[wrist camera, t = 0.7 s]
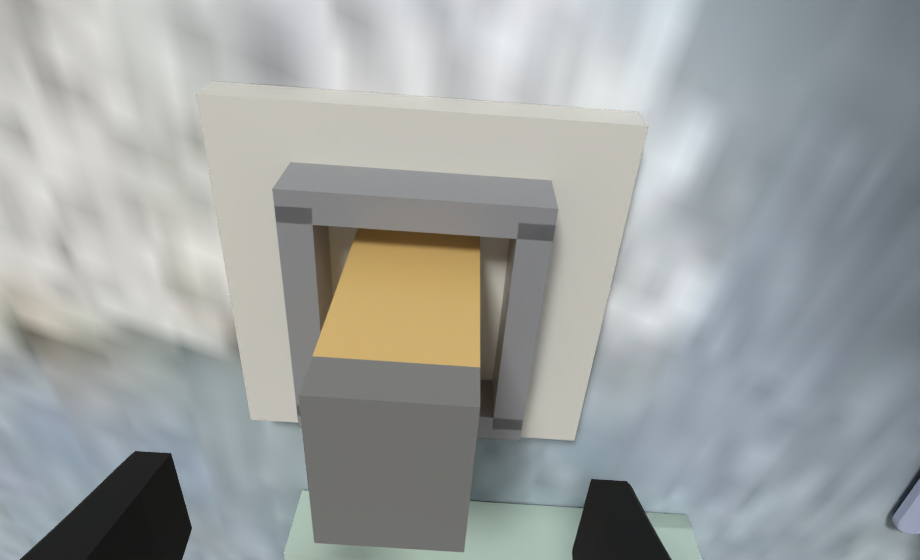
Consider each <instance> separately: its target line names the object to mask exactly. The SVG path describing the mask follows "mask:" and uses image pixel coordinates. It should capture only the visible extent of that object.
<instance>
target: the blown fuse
mask: <svg viewBox="0 0 920 560" xmlns="http://www.w3.org/2000/svg"><path fill="white" fill-rule="evenodd" d="M299 404H300V414H301V423H302V433H303V442H304V451H305V461H306V470H307V480H308V489H309V498H310V508H311V517H312V527H313V536H314V543H322V544H338V545H354V546H370V547H386V548H402V549H418V550H434V551H450V552H464V548H465V539H466V530H467V521H468V513H469V504H470V495H471V486H472V477H473V468H474V459H475V450H476V441H477V432H478V423H479V414H480V236H467V235H453V234H438V233H424V232H409V231H395V230H380V229H366V228H358V229H357V232H356V235H355V238H354V241H353V243H352V246H351V249H350V252H349V255H348V257H347V260H346V263H345V266H344V269H343V272H342V274H341V277H340V280H339V283H338V286H337V288H336V291H335V294H334V297H333V300H332V303H331V305H330V308H329V311H328V314H327V317H326V319H325V322H324V325H323V328H322V331H321V334H320V336H319V339H318V342H317V345H316V348H315V350H314V353H313V356H312V359H311V362H310V365H309V367H308V370H307V373H306V376H305V379H304V381H303V384H302V387H301V390H300V393H299Z"/></svg>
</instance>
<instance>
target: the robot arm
mask: <svg viewBox="0 0 920 560" xmlns="http://www.w3.org/2000/svg"><path fill="white" fill-rule="evenodd" d="M892 520H893V523H894V524H895V526H896V527H897V529H898V530H899V531H901V532H904V533H913V534H920V479H919V480H918V481H917V483H916V484H915V486H914V487H913V489H912V490H911V491H910V493H909V494H908V496H907V497H906V499H905V500H904V501H903V503H902V504H901V506H900V507H899V508H898V510H897V511H896V513H895V514H894V516H893V519H892ZM191 530H192V527H191V523H190V520H189V516H188V512H187V509H186V505H185V502H184V498H183V494H182V491H181V487H180V484H179V480H178V476H177V473H176V469H175V466H174V462H173V458H172V455H171V453H156V452H140V451H135V452H134V453H133V454H131V455H130V456H129V457H128V458H127V459H126V460H125V461H124V462H123V463H122V464H121V465H120V466H118V467H117V468H116V469H115V470H114V471H113V472H112V473H111V474H110V475H109V476H108V477H107V478H106V479H105V480H104V481H103V482H102V483H101V484H100V485H99V486H98V487H97V488H96V489H95V490H94V491H93V492H91V493H90V494H89V495H88V496H87V497H86V498H85V499H84V500H83V501H82V502H81V503H80V504H79V505H78V506H77V507H76V508H75V509H74V510H73V511H72V512H71V513H70V514H68V515H67V516H66V517H65V518H64V519H63V520H62V521H61V522H60V523H59V524H58V525H57V526H56V527H55V528H54V529H53V530H51V531H50V532H49V533H48V534H47V535H46V536H45V537H44V538H43V539H42V540H41V541H40V542H38V543H37V544H36V545H35V546H34V547H33V548H32V549H31V550H30V551H29V552H28V553H26V554H25V555H24V556H23V557H22V558H21V559H20V560H182V558H183V555H184V552H185V549H186V545H187V542H188V539H189V536H190V533H191ZM572 558H573V560H672V559H671V557H670V556H669V554H668V552H667V551H666V549H665V547H664V545H663V544H662V542H661V540H660V538H659V537H658V535H657V533H656V531H655V530H654V528H653V526H652V524H651V522H650V521H649V519H648V517H647V515H646V513H645V511H644V509H643V508H642V506H641V504H640V502H639V500H638V498H637V496H636V494H635V492H634V491H633V489H632V487H631V485H630V484H629V483H628V482H627V481H613V480H597V479H591V482H590V486H589V490H588V493H587V497H586V501H585V504H584V508H583V512H582V516H581V519H580V523H579V527H578V530H577V534H576V538H575V541H574V545H573V549H572Z"/></svg>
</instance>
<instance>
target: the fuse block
mask: <svg viewBox="0 0 920 560" xmlns="http://www.w3.org/2000/svg"><path fill="white" fill-rule="evenodd" d="M196 96H197V102H198V108H199V114H200V120H201V126H202V132H203V138H204V144H205V150H206V156H207V162H208V168H209V174H210V180H211V185H212V191H213V197H214V203H215V209H216V215H217V221H218V227H219V233H220V239H221V245H222V251H223V257H224V263H225V269H226V275H227V281H228V287H229V293H230V298H231V304H232V310H233V316H234V322H235V328H236V334H237V340H238V346H239V352H240V358H241V364H242V370H243V376H244V382H245V388H246V394H247V400H248V406H249V411H250V417H251V420H265V421H281V422H296V423H298V426H301V427H302V423H301V414H300V404H299V393H300V390H301V387H302V384H303V381H304V379H305V376H306V373H307V370H308V367H309V365H310V362H311V359H312V356H313V353H314V350H315V348H316V345H317V342H318V339H319V336H320V334H321V331H322V328H323V325H324V322H325V319H326V317H327V314H328V311H329V308H330V305H331V303H332V300H333V297H334V294H335V291H336V288H337V286H338V283H339V280H340V277H341V274H342V272H343V269H344V266H345V263H346V260H347V257H348V255H349V252H350V249H351V246H352V243H353V241H354V238H355V235H356V232H357V229H358V228H366V229H380V230H395V231H409V232H424V233H438V234H453V235H467V236H480V414H479V423H478V432H477V438H486V439H501V440H517V441H520V437H527V438H542V439H557V440H573V441H574V440H575V436H576V432H577V427H578V423H579V419H580V415H581V410H582V406H583V402H584V398H585V393H586V389H587V385H588V381H589V376H590V372H591V368H592V364H593V359H594V355H595V351H596V347H597V342H598V338H599V334H600V330H601V325H602V321H603V317H604V313H605V308H606V304H607V300H608V296H609V291H610V287H611V283H612V279H613V274H614V270H615V266H616V262H617V257H618V253H619V249H620V245H621V240H622V236H623V232H624V228H625V223H626V219H627V215H628V211H629V206H630V202H631V198H632V194H633V190H634V185H635V181H636V177H637V173H638V168H639V164H640V160H641V156H642V151H643V147H644V143H645V139H646V134H647V130H648V124H647V123H646V122H645V120H644V119H643V117H642V116H641V115H640V113H639V112H633V111H619V110H605V109H591V108H577V107H563V106H549V105H535V104H521V103H507V102H493V101H479V100H465V99H452V98H438V97H424V96H410V95H396V94H382V93H368V92H354V91H340V90H326V89H312V88H298V87H284V86H270V85H256V84H242V83H228V82H214V81H213V82H211V83H210V84H208V85H207V86H206V87H204V88H203V89H202V90H200V91H199V92H198V93H196Z"/></svg>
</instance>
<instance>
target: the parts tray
mask: <svg viewBox="0 0 920 560" xmlns="http://www.w3.org/2000/svg"><path fill="white" fill-rule="evenodd" d="M582 512H583V508H571V507H556V506H540V505H524V504H509V503H493V502H477V501H470V504H469V513H468V521H467V530H466V539H465V548H464V552H450V551H434V550H418V549H402V548H386V547H370V546H354V545H338V544H322V543H314V536H313V527H312V517H311V508H310V498H309V491H305V490H302V493H301V496H300V500H299V503H298V507H297V510H296V513H295V517H294V520H293V524H292V527H291V530H290V534H289V537H288V541H287V544H286V548H285V551H284V559H285V560H573V558H572V549H573V545H574V541H575V538H576V534H577V530H578V527H579V523H580V519H581V516H582ZM645 513H646V515H647V517H648V519H649V521H650V522H651V524H652V526H653V528H654V530H655V531H656V533H657V535H658V537H659V538H660V540H661V542H662V544H663V545H664V547H665V549H666V551H667V552H668V554H669V556H670V557H671V559H672V560H702V558H701V555H700V552H699V549H698V546H697V543H696V540H695V537H694V534H693V531H692V528H691V525H690V522H689V519H688V516H687V515H681V514H665V513H650V512H645Z"/></svg>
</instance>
